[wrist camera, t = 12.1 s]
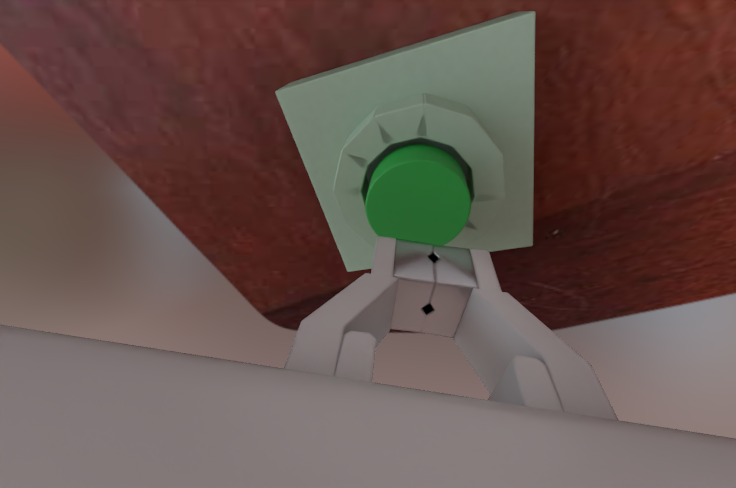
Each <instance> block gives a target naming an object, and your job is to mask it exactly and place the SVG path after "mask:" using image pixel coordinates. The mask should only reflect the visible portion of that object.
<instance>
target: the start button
mask: <svg viewBox="0 0 736 488" xmlns="http://www.w3.org/2000/svg"><path fill="white" fill-rule="evenodd" d="M365 210H366V216H367V219H368V222H369V224H370V226H371V228H372V229H373V231H374V232H375V233H376V234H377V236H383V237H390V238H395V239H396V238H397V239H404V240H410V241H417V242H423V243H430V244H434V245H442V246H443V245H445V244H447V243H448V242H450V241H451V240H453V239H454V238H455V237H456V236H457V235H458V234H459V233H460V232H461V231H462V229H463V228H464V226H465V225H466V223H467V221H468V218H469V215H470V211H471V197H470V192H469V189H468V186H467V183H466V179H465V176H464V173H463V171H462V169H461V167H460V165H459V163H458V162H457V161H456V160H455V159H454V158H453V157H452V156H451V155H450V154H449V153H447V152H446V151H444V150H442V149H440V148H438V147H435V146H431V145H425V144H413V145H407V146H404V147H400V148H398V149H396V150H394V151H392V152H391V153H389V154H388V155H387V156H385V157H384V158H383V159H382V160H381V161H380V162H379V164H378V165H377V166H376V168H375V170H374V172H373V174H372V177H371V181H370V184H369V188H368V192H367V196H366V201H365Z"/></svg>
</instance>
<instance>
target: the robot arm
mask: <svg viewBox="0 0 736 488" xmlns="http://www.w3.org/2000/svg"><path fill="white" fill-rule="evenodd" d="M390 329H397V330H405V331H413V332H422V333H427V334H434V335H440V336H445V337H450V338H454V339H453V340H454V341H455V343H456V344H457V346H458V347H459V349H460V350H461V352H462V353H463V354H464V356H465V358H466V359H467V360H468V362H469V363H470V365H471V366H472V368H473V369H474V371H475V372H476V374H477V375H478V377H479V378H480V380H481V381H482V383H483V384H484V385H485V387H486V388H487V390H488V391H489V393H490V394H491V396H490V397H489V399H488V400H482V399H476V398H469V397H463V396H457V395H451V394H444V393H437V392H431V391H425V390H418V389H412V388H405V387H399V386H393V385H386V384H380V383H373V382H372V376H373V368H374V358H375V348H376V346H377V345H378V344H379V343H380V342H381V340H382V339H383V338H384V337H385V336H386V334H387V333H388V332H389V331H390ZM0 488H736V439H734V438H728V437H722V436H715V435H709V434H703V433H695V432H690V431H682V430H677V429H670V428H664V427H657V426H651V425H644V424H638V423H631V422H625V421H619V420H618V418H617V416H616V414H615V412H614V410H613V408H612V406H611V404H610V402H609V400H608V398H607V396H606V394H605V392H604V390H603V388H602V386H601V384H600V382H599V380H598V378H597V376H596V374H595V372H594V370H593V368H592V366H591V364H590V363H588V362H587V361H586V360H585V359H584V358H583V357H581V356H580V355H579V354H578V353H577V352H576V351H574V350H573V349H572V348H571V347H570V346H569V345H568V344H566V343H565V342H564V341H563V340H562V339H560V338H559V337H558V336H557V335H556V334H555V333H554V332H552V331H551V330H550V329H549V328H548V327H547V326H546V325H544V324H543V323H542V322H541V321H540V320H539V319H537V318H536V317H535V316H534V315H533V314H532V313H530V312H529V311H528V310H527V309H526V308H525V307H523V306H522V305H521V304H520V303H519V302H518V301H517V300H515V299H514V298H513V297H512V296H511V295H510V294H508V293H505V292H502V291H501V288H500V285H499V281H498V278H497V275H496V272H495V269H494V266H493V263H492V260H491V256H490V253H489V252H488V251H487V250H480V249H471V248H468V249H467V248H458V247H450V246H442V245H434V244H430V243H423V242H417V241H410V240H404V239H397V238H396V239H395V238H390V237H383V236H378V237H377V240H376V246H375V252H374V258H373V264H372V270H371V274H369V273H365V274H364V275H362V276H361V277H360V278H358V279H357V280H356V281H354V282H353V283H352V284H350V285H349V286H348V287H346V288H345V289H344V290H342V291H341V292H340V293H338V294H337V295H336V296H334V297H333V298H332V299H330V300H329V301H328V302H326V303H325V304H324V305H322V306H321V307H320V308H318V309H317V310H316V311H314V312H313V313H312V314H310V315H309V316H308V317H306V318H305V319H304V320H302V321H301V323H300V326H299V329H298V332H297V334H296V337H295V340H294V342H293V345H292V348H291V351H290V353H289V356H288V359H287V361H286V364H285V367H284V369H283V368H277V367H270V366H263V365H257V364H251V363H244V362H238V361H231V360H224V359H218V358H212V357H206V356H199V355H192V354H186V353H179V352H173V351H166V350H160V349H154V348H147V347H141V346H134V345H128V344H122V343H115V342H109V341H102V340H95V339H89V338H82V337H76V336H70V335H63V334H57V333H50V332H44V331H37V330H31V329H24V328H18V327H12V326H5V325H0Z"/></svg>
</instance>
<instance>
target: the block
mask: <svg viewBox="0 0 736 488" xmlns="http://www.w3.org/2000/svg"><path fill="white" fill-rule="evenodd" d="M275 93H276V95H277V98H278V100H279V103H280V105H281V108H282V110H283V113H284V115H285V118H286V120H287V123H288V125H289V128H290V130H291V132H292V135H293V137H294V140H295V142H296V145H297V147H298V150H299V152H300V155H301V157H302V160H303V162H304V165H305V167H306V170H307V172H308V175H309V177H310V180H311V182H312V185H313V187H314V189H315V192H316V194H317V197H318V199H319V202H320V204H321V207H322V209H323V212H324V214H325V217H326V219H327V222H328V224H329V227H330V229H331V232H332V234H333V237H334V239H335V242H336V244H337V247H338V249H339V251H340V254H341V256H342V259H343V261H344V264H345V266H346V269H347V271H348V272H350V271H357V270H364V269H371V268H372V264H373V258H374V252H375V246H376V240H377V237H378V236H377V234H376V233H375V232H374V231H373V229H372V228H371V226H370V224H369V222H368V219H367V216H366V210H365V201H366V196H367V192H368V188H369V184H370V181H371V177H372V174H373V172H374V170H375V168H376V166H377V165H378V164H379V162H380V161H381V160H382V159H383V158H384V157H385V156H387V155H388V154H389V153H391V152H392V151H394V150H396V149H398V148H400V147H404V146H407V145H413V144H425V145H431V146H435V147H438V148H440V149H442V150H444V151H446V152H447V153H449V154H450V155H451V156H452V157H453V158H454V159H455V160H456V161H457V162H458V163H459V165H460V167H461V169H462V171H463V173H464V176H465V179H466V183H467V186H468V189H469V192H470V197H471V211H470V215H469V218H468V221H467V223H466V225H465V226H464V228H463V229H462V231H461V232H460V233H459V234H458V235H457V236H456V237H455V238H454V239H453V240H451V241H450V242H448V243H447V244H445V245H443V246H450V247H458V248H467V249H468V248H471V249H480V250H487V251H488V252H492V251H499V250H506V249H513V248H520V247H528V246H533V189H534V96H535V12H534V11H521V12H514V13H511V14H508V15H505V16H502V17H498V18H495V19H492V20H489V21H486V22H482V23H479V24H476V25H473V26H470V27H466V28H463V29H460V30H457V31H454V32H450V33H447V34H444V35H441V36H438V37H434V38H431V39H428V40H425V41H422V42H418V43H415V44H412V45H409V46H406V47H402V48H399V49H396V50H393V51H390V52H386V53H383V54H380V55H377V56H374V57H370V58H367V59H364V60H361V61H358V62H354V63H351V64H348V65H345V66H342V67H338V68H335V69H332V70H329V71H326V72H322V73H319V74H316V75H313V76H310V77H306V78H303V79H300V80H297V81H294V82H291V83H289V84H287V85H286V86H284V87H282V88H280V89H279V90H277V91H276V92H275Z"/></svg>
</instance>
